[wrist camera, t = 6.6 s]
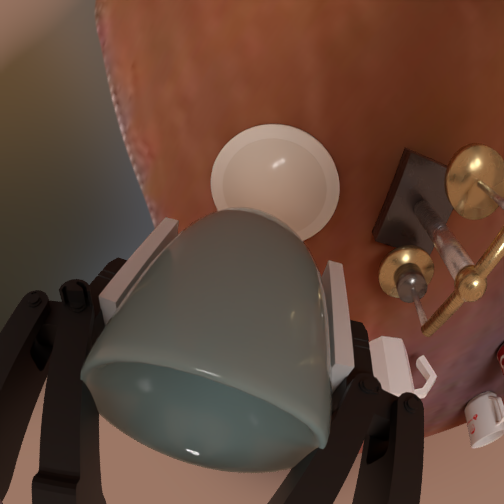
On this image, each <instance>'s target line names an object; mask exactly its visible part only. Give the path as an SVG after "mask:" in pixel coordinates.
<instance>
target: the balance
mask: <svg viewBox="0 0 504 504" xmlns="http://www.w3.org/2000/svg"><path fill="white" fill-rule="evenodd" d="M503 198H504V161H503V159H502V158H501V156H500V155H499V154H498V153H497V152H496V151H495V150H494V149H492V148H490V147H488V146H486V145H484V144H480V143H472V144H468V145H466V146H464V147H462V148H461V149H459V150H458V151H457V152H456V153H455V154H454V155H453V157H452V158H451V160H450V162H449V164H448V166H446V165H444V164H442V163H439V162H437V161H435V160H433V159H431V158H429V157H426V156H424V155H422V154H419V153H417V152H415V151H412V150H410V149H408V148H405V149H404V152H403V155H402V157H401V160H400V163H399V166H398V168H397V171H396V174H395V177H394V179H393V182H392V184H391V187H390V190H389V192H388V195H387V197H386V200H385V202H384V205H383V207H382V209H381V212H380V214H379V217H378V219H377V221H376V224H375V226H374V228H373V231H372V233H373V236H374V239H375V241H377V242H380V243H383V244H387V245H390V246H393V247H396V249H394V250H393V251H391V252H390V253H389V254H387V255H386V256H385V258H384V259H383V260H382V262H381V264H380V266H379V269H378V279H379V283H380V286H381V288H382V290H383V291H384V292H385V293H386V294H388V295H389V296H392V297H395V298H400V299H401V300H402V301H404V302H408V303H411V302H414V304H415V307H416V310H417V313H418V316H419V319H420V322H421V325H422V327H421V331H422V333H423V334H424V335H425V336H427V337H430V336H432V335H433V334H434V333H435V332H436V331H437V330H438V329H439V328H440V327H441V326H442V325H443V324H444V323H445V322H446V321H447V320H448V319H449V318H450V317H451V316H452V315H453V314H454V313H455V312H456V311H457V310H458V309H459V308H460V306H461V305H462V304H463V303H464V302H465V301H466V302H474V301H477V300H478V299H480V298H481V297H482V296H483V294H484V293H485V291H486V287H487V278H486V277H487V276H488V275H489V273H490V272H491V271H492V270H493V268H494V267H495V266H496V265H497V263H498V262H499V261H500V260H501V258H502V257H503V256H504V226H503V228H502V229H501V230H500V232H499V233H498V235H497V236H496V238H495V239H494V241H493V242H492V243H491V245H490V246H489V248H488V249H487V250H486V252H485V253H484V254H483V256H482V257H481V258H480V260H479V261H478V262H477V264H476V265H475V264H474V263H473V261H472V260H471V258H470V257H469V256H468V254H467V253H466V251H465V250H464V248H463V247H462V245H461V244H460V243H459V241H458V240H457V238H456V237H455V236H454V234H453V233H452V232H451V230H450V229H449V228H448V226H447V225H446V223H447V221H448V218H449V216H450V214H451V212H452V210H453V208H454V209H455V210H456V211H457V212H458V213H459V214H460V215H461V216H463V217H464V218H467V219H471V220H478V219H482V218H485V217H487V216H489V215H490V214H492V213H493V212H494V211H495V210H496V209H497V208H498V207H499V206H500V207H501V208H502V209H504V199H503ZM434 246H435V247H436V249H437V251H438V252H439V254H440V256H441V258H442V259H443V261H444V263H445V265H446V266H447V268H448V270H449V272H450V274H451V275H452V277H453V279H454V287H455V291H454V292H453V293H452V294H451V295H450V296H449V297H448V299H447V300H446V301H445V302H444V303H443V304H442V305H441V306H440V307H439V308H438V310H437V311H436V312H435V313H434V314H433V315H432V316H431V317H430V318H429V319H428V320H427V319H426V316H425V313H424V310H423V307H422V304H421V302H420V299H421V298H422V297H423V296H424V295H425V293H426V291H427V285H428V284H429V283H430V281H431V279H432V277H433V273H434V265H433V261H432V259H431V258H430V254H431V252H432V250H433V248H434Z"/></svg>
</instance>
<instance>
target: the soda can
mask: <svg viewBox="0 0 504 504" xmlns="http://www.w3.org/2000/svg"><path fill="white" fill-rule="evenodd" d="M497 359H498V362H499V364H500V367H501V370H502V372H503V375H504V343H503V344H502V345H501V347H500V348H499V350H498V352H497Z"/></svg>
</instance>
